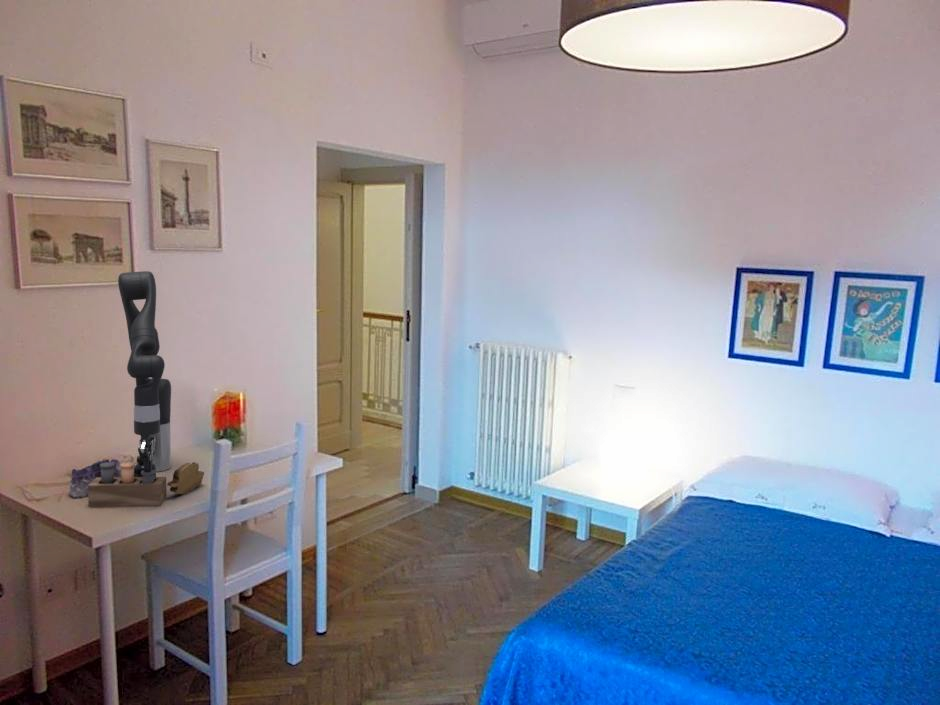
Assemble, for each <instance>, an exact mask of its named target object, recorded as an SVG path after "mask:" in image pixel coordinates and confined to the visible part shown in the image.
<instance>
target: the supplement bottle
mask: <svg viewBox="0 0 940 705" xmlns="http://www.w3.org/2000/svg"><path fill="white" fill-rule="evenodd" d="M152 462H153V459H152ZM143 470H144V469H143V460H141V459H140V455H139V454H138V455H137V456H136V463H135V466H134V477H142V475H141V471H143ZM152 470H155V474H154V477H157V472H156V465H155V464H154V463H152Z"/></svg>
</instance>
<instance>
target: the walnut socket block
mask: <svg viewBox="0 0 940 705" xmlns="http://www.w3.org/2000/svg"><path fill="white" fill-rule="evenodd" d="M87 498H88V499H87V500H88V508H123V507H124V506H125V507H124V508H128V507H127V506H129V507H131V506H132V508H133V507H134V508H135V507H138V506H139V507H161V506H162V504H163V503H164V502H165V500H166V499H167V477H166V476H156V477H154V483H142V477H134V483H126V484H122V477H114V483H113V484H101V477H96V478H95V479H94V480H93V481H92V482H91V483H90V484H89V485H88V497H87Z"/></svg>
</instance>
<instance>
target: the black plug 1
mask: <svg viewBox="0 0 940 705" xmlns="http://www.w3.org/2000/svg"><path fill="white" fill-rule="evenodd" d="M114 466H115V463H113V462H111V461H109V462H106V463H101V464H100V467H101V484H113V483H114Z"/></svg>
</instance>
